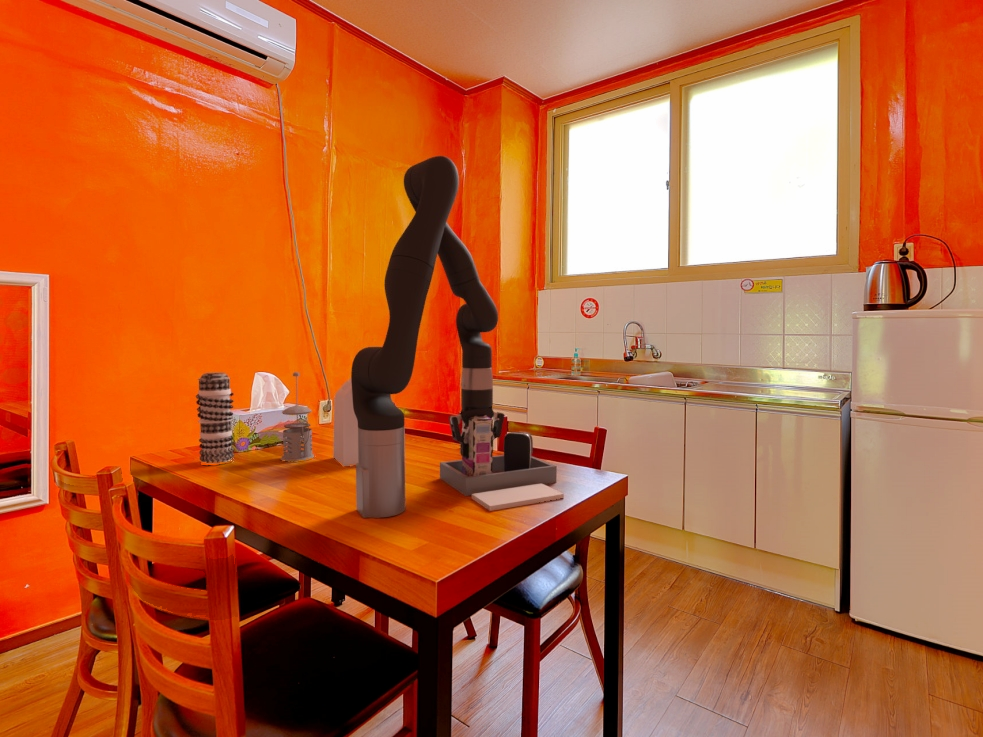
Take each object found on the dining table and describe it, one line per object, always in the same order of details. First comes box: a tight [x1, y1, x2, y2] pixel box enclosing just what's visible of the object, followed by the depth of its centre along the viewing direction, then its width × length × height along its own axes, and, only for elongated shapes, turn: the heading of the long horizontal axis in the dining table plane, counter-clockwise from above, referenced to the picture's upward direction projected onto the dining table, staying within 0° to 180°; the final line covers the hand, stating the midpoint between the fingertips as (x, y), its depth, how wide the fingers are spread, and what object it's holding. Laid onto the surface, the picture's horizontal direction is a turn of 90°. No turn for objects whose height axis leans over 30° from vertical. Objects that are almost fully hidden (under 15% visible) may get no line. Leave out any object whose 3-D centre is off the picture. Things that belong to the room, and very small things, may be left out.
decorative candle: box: [195, 372, 235, 463], centre depth 144 cm, size 9×9×25 cm
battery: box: [503, 431, 534, 472], centre depth 129 cm, size 7×4×11 cm, turn 68°
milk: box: [332, 377, 358, 467], centre depth 146 cm, size 12×12×26 cm
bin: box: [439, 454, 558, 497], centre depth 127 cm, size 24×16×4 cm, turn 117°
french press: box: [280, 371, 315, 461], centre depth 148 cm, size 10×12×25 cm
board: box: [471, 483, 565, 512], centre depth 113 cm, size 18×9×1 cm, turn 117°
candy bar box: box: [461, 416, 494, 477], centre depth 124 cm, size 11×5×16 cm, turn 17°
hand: (477, 456), depth 124 cm, fingers closed on candy bar box, 5 cm apart
